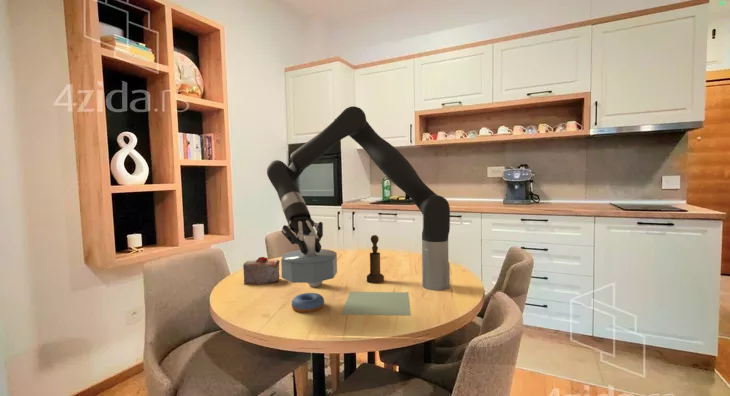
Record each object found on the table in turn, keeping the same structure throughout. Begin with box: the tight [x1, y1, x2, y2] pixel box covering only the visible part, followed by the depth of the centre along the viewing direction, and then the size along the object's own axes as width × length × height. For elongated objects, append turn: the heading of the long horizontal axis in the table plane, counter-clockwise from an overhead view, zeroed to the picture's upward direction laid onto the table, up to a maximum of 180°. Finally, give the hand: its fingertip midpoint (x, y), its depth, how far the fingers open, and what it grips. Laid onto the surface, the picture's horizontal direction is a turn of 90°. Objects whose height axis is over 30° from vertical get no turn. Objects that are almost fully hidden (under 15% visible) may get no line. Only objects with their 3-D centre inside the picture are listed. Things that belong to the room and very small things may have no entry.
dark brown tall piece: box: [366, 234, 385, 285], centre depth 132 cm, size 7×6×18 cm
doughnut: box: [291, 292, 325, 314], centre depth 107 cm, size 10×10×5 cm
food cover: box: [280, 235, 338, 284], centre depth 105 cm, size 16×16×12 cm
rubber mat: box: [340, 291, 411, 317], centre depth 109 cm, size 20×20×1 cm
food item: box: [242, 256, 281, 285], centre depth 136 cm, size 14×8×10 cm, turn 93°
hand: (312, 251), depth 104 cm, fingers closed on food cover, 3 cm apart
